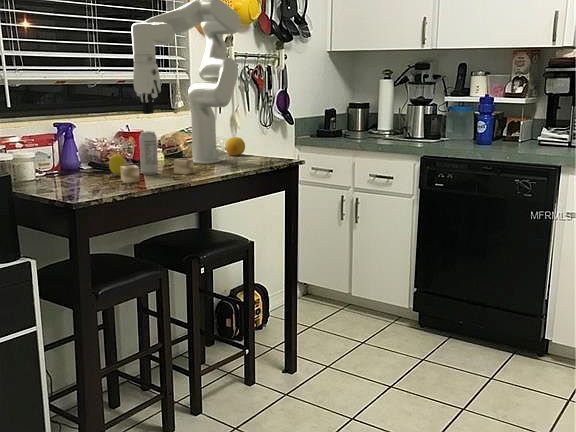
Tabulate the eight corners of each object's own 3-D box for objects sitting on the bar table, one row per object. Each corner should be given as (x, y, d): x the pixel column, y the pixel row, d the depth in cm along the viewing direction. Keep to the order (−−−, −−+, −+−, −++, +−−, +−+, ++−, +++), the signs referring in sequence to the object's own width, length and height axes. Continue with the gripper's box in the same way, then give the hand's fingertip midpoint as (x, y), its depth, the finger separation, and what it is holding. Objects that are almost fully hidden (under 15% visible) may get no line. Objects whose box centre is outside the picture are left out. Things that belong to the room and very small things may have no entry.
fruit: (221, 155, 271) (221, 137, 269) (234, 153, 277) (234, 135, 275) (236, 157, 265) (235, 138, 263) (249, 155, 271) (249, 137, 269)
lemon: (120, 173, 225) (119, 151, 223) (128, 175, 221) (127, 153, 220) (106, 175, 222) (105, 152, 220) (114, 177, 218) (113, 154, 216)
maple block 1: (135, 179, 215) (134, 164, 214) (139, 182, 211) (138, 166, 209) (121, 180, 213) (120, 165, 211) (124, 183, 208) (123, 167, 207)
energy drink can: (154, 171, 230) (152, 130, 226) (160, 174, 225) (159, 132, 221) (138, 173, 226) (136, 131, 223) (144, 175, 221) (142, 133, 218)
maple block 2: (182, 171, 232) (181, 157, 230) (193, 172, 229) (193, 158, 228) (174, 173, 227) (173, 159, 226) (185, 174, 225) (184, 160, 224)
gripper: (166, 60, 214) (169, 114, 219) (141, 59, 224) (144, 111, 228) (148, 60, 209) (152, 116, 213) (123, 60, 218) (127, 113, 223)
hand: (148, 113), depth 221 cm, fingers closed
